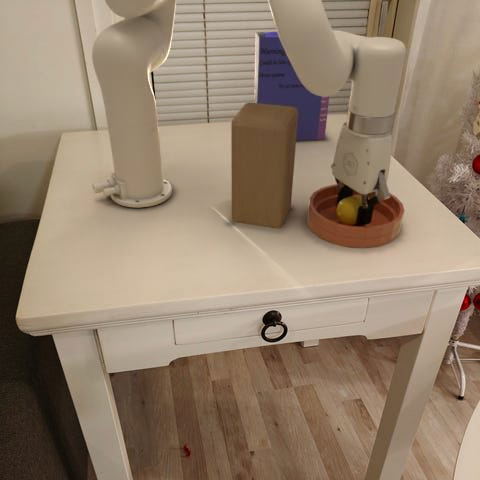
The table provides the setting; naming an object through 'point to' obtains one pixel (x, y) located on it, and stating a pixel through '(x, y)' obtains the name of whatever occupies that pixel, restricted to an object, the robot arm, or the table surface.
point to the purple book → (287, 87)
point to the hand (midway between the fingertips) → (353, 216)
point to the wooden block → (263, 163)
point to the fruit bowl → (369, 235)
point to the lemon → (349, 210)
